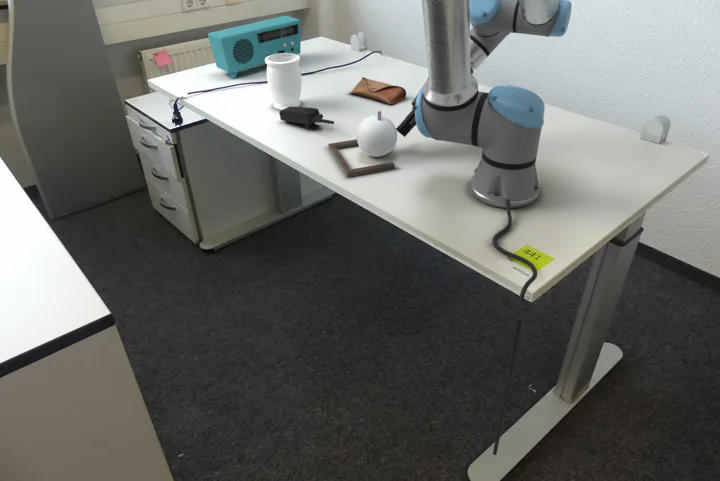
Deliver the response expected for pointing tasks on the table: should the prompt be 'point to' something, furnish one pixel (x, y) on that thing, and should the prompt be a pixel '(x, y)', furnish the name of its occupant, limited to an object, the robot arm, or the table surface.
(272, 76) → the jar
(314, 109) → the walkie-talkie
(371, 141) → the ornament
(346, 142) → the bay
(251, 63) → the radio
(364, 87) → the sunglasses case
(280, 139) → the table surface
